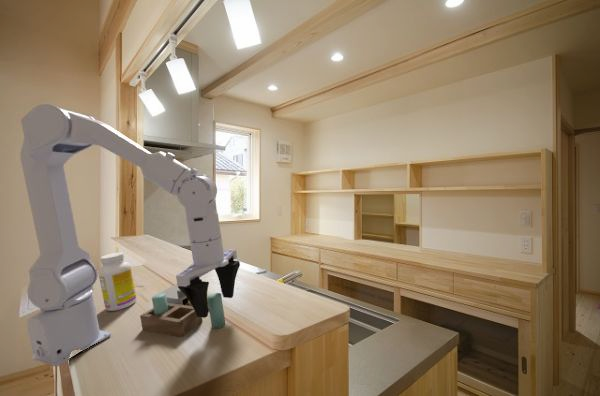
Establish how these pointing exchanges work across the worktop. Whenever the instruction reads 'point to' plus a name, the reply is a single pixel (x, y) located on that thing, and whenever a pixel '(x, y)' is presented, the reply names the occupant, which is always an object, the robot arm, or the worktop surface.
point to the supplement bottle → (116, 282)
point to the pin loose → (216, 310)
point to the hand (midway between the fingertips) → (216, 306)
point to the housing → (174, 295)
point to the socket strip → (171, 320)
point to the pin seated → (160, 304)
